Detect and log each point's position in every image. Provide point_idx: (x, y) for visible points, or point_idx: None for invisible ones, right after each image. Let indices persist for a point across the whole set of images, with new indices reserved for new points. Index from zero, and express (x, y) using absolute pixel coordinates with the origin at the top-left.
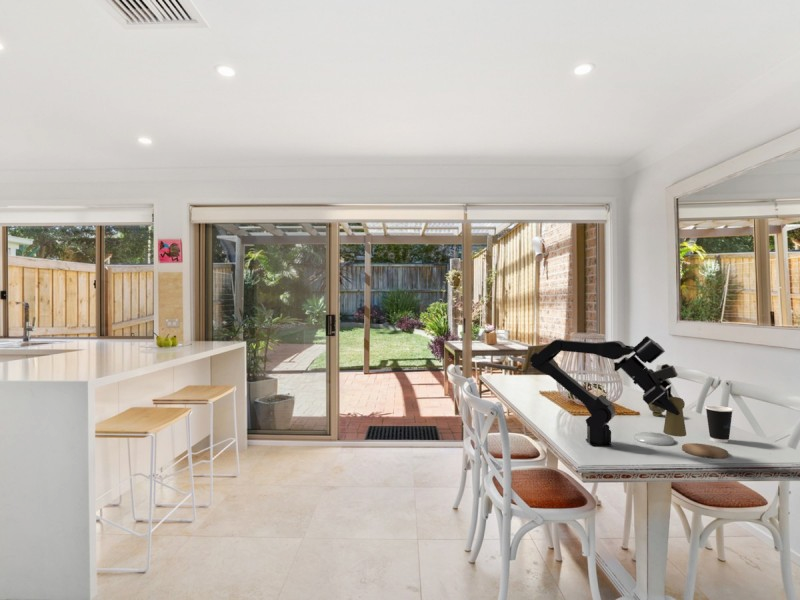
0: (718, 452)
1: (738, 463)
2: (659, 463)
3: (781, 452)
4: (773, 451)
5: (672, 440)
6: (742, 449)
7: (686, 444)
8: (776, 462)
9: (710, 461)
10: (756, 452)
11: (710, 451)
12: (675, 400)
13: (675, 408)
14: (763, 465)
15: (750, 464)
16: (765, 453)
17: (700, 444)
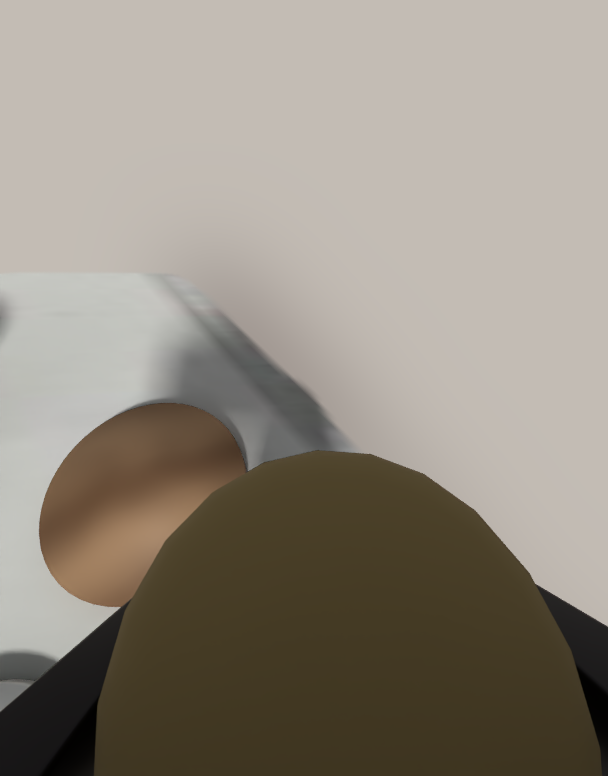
0: (180, 432)
1: (255, 377)
2: None
3: (38, 292)
4: (32, 307)
5: (7, 692)
6: (37, 377)
7: (84, 585)
8: (173, 300)
9: None
10: (67, 342)
11: (180, 461)
12: (548, 609)
13: (542, 594)
14: (231, 323)
15: (244, 349)
16: (70, 322)
17: (56, 516)
